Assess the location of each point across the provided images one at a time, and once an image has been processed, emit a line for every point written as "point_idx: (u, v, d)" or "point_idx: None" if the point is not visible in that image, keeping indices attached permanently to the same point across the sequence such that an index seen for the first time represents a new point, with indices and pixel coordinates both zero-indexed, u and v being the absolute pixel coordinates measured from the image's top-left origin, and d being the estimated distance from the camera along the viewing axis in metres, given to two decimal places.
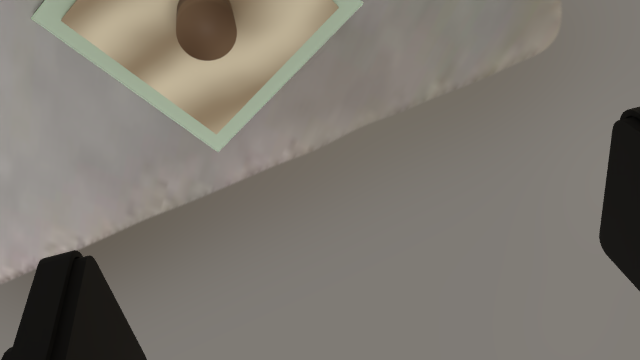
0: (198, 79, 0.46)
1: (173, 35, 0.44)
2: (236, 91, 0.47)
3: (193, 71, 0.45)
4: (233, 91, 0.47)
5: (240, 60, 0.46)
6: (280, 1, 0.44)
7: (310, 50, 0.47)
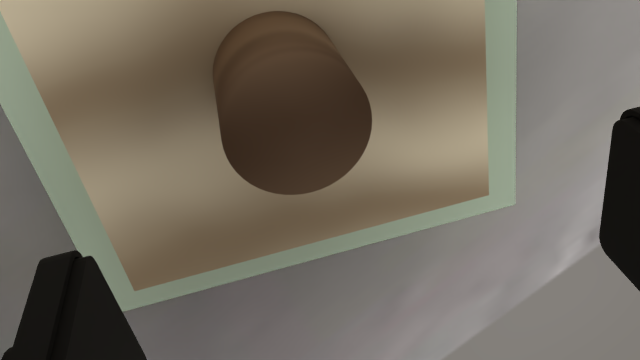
0: None
1: (362, 71, 0.20)
2: None
3: None
4: None
5: None
6: None
7: None
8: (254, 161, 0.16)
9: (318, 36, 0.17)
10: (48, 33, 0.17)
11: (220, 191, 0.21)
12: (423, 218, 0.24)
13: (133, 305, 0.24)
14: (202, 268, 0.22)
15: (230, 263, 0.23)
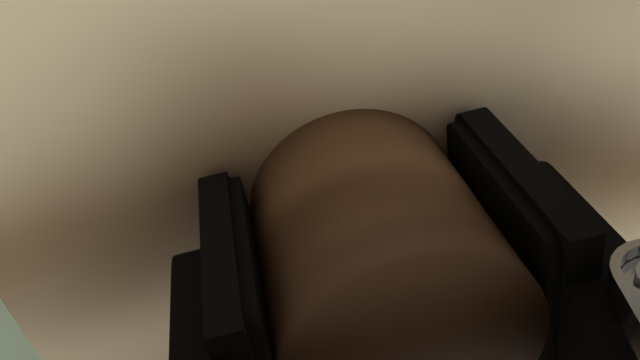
0: (562, 10, 0.10)
1: None
2: None
3: (546, 49, 0.11)
4: None
5: None
6: (59, 99, 0.10)
7: None
8: None
9: (441, 168, 0.10)
10: None
11: None
12: None
13: None
14: None
15: None
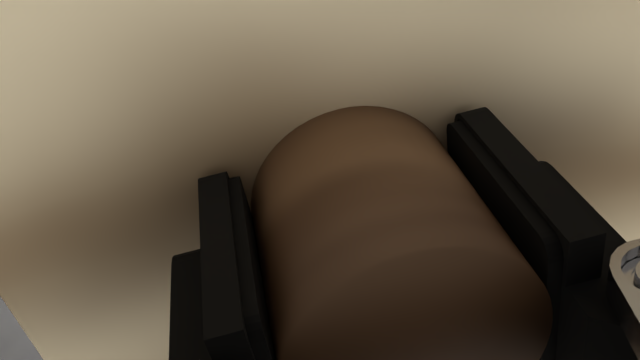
0: (565, 7, 0.10)
1: None
2: None
3: (549, 46, 0.11)
4: None
5: None
6: (60, 96, 0.10)
7: None
8: None
9: (444, 165, 0.09)
10: None
11: None
12: None
13: None
14: None
15: None
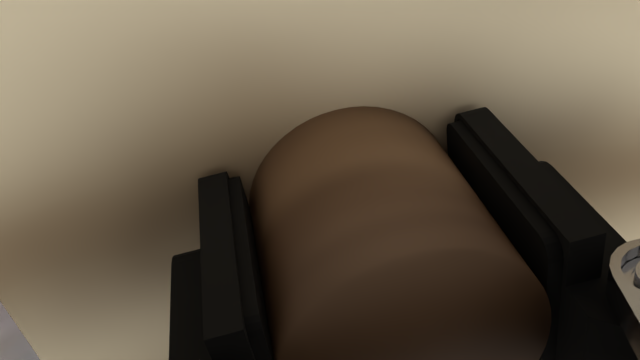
0: (564, 7, 0.10)
1: None
2: None
3: (548, 46, 0.11)
4: None
5: None
6: (57, 96, 0.09)
7: None
8: None
9: (442, 166, 0.09)
10: None
11: None
12: None
13: None
14: None
15: None
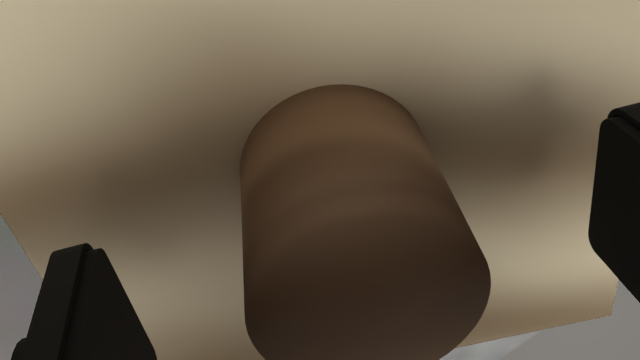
0: None
1: (460, 166, 0.13)
2: None
3: (517, 35, 0.12)
4: None
5: None
6: (69, 66, 0.11)
7: None
8: (296, 347, 0.10)
9: (406, 141, 0.10)
10: None
11: None
12: None
13: None
14: None
15: None
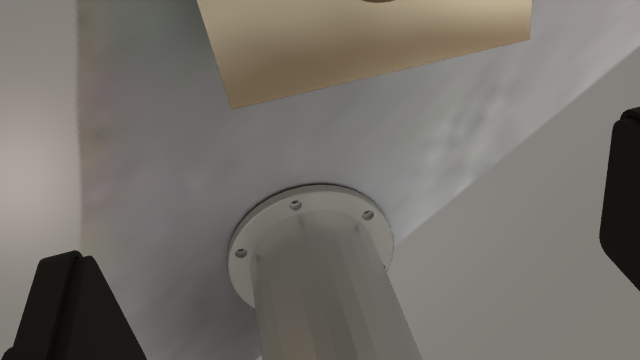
0: None
1: None
2: None
3: None
4: None
5: None
6: None
7: None
8: None
9: None
10: None
11: (306, 21, 0.25)
12: None
13: None
14: (287, 92, 0.27)
15: (310, 90, 0.27)
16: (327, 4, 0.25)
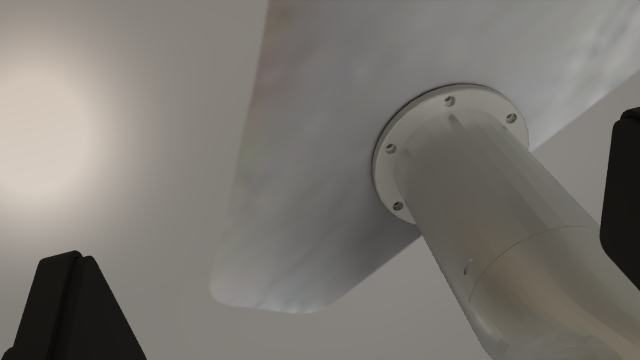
0: None
1: None
2: None
3: None
4: None
5: None
6: None
7: None
8: None
9: None
10: None
11: None
12: None
13: None
14: None
15: None
16: None
